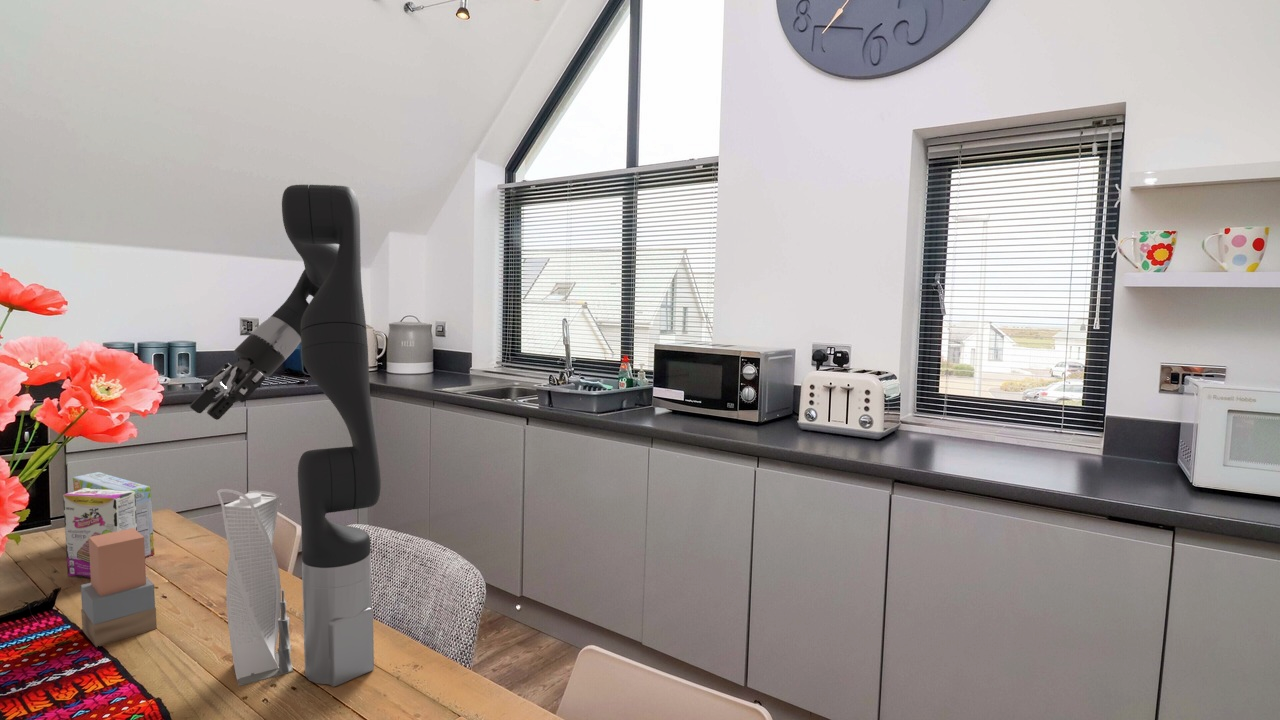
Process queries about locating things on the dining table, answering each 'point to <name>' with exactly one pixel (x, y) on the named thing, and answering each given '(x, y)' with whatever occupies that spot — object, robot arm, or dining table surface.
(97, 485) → the snack box
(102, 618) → the gray block
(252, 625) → the twisted tower model
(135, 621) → the walnut block
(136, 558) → the salmon orange block
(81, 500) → the candy bar box
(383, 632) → the dining table surface
